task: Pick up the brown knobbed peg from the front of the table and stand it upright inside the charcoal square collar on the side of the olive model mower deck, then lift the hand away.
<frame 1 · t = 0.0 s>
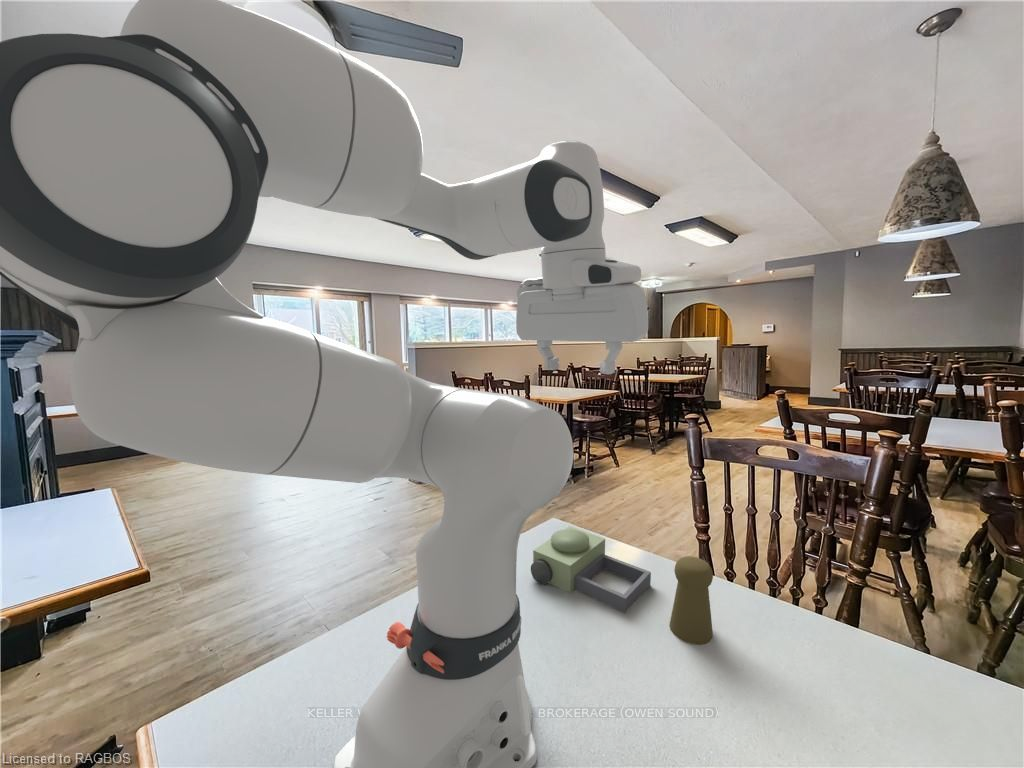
hand: (578, 371, 63), 39 cm above the table, tool pointing down, fingers open, 8 cm apart
brown knobbed peg: (690, 631, 65), on the table
mower deck: (612, 587, 75), on the table
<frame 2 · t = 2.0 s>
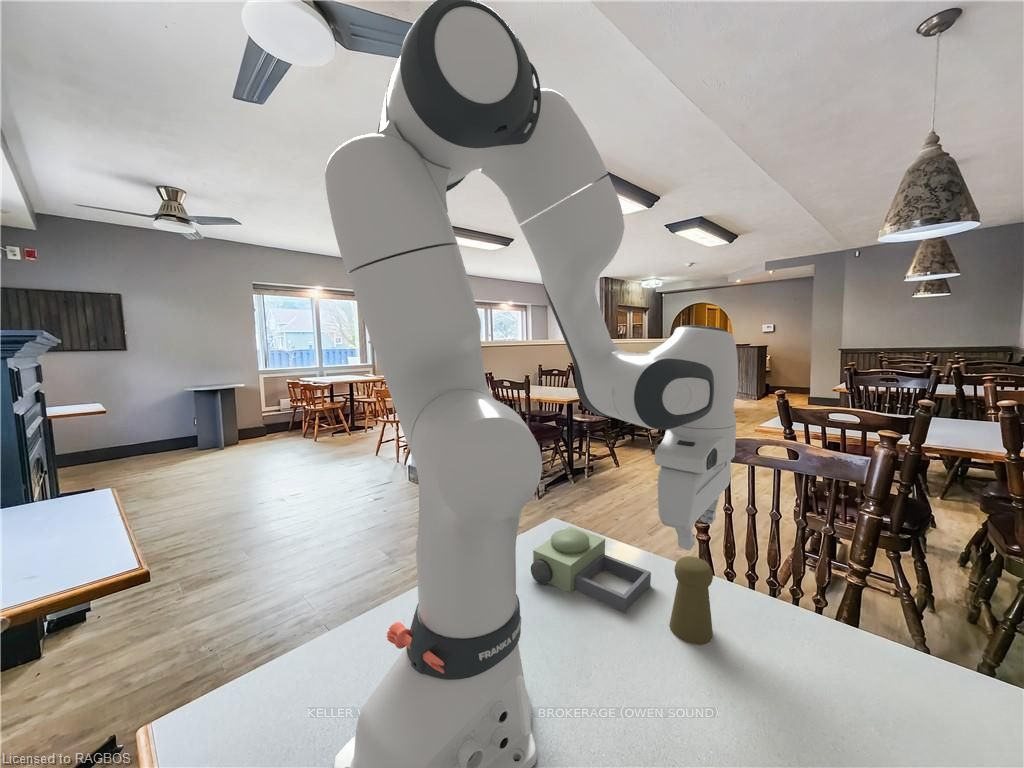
hand: (697, 533, 63), 15 cm above the table, tool pointing down, fingers open, 8 cm apart
nothing on the table moved.
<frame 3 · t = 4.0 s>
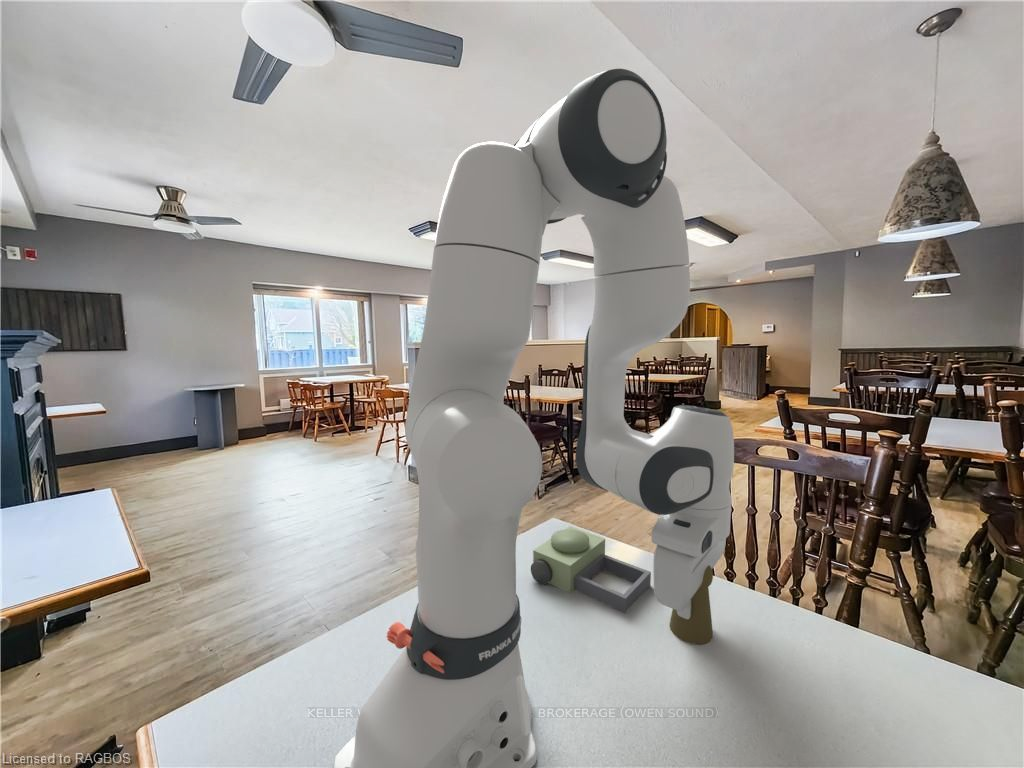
hand: (692, 604, 64), 4 cm above the table, tool pointing down, fingers closed on brown knobbed peg, 5 cm apart
brown knobbed peg: (690, 630, 65), on the table, touching gripper
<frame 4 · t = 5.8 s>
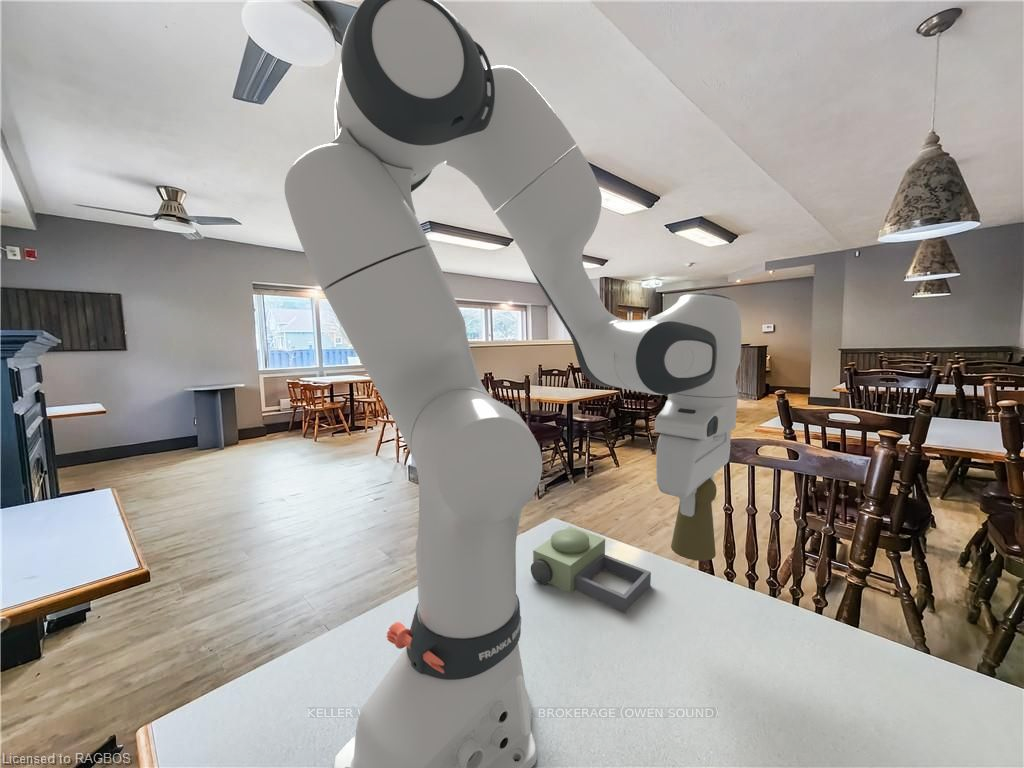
hand: (695, 507, 62), 19 cm above the table, tool pointing down, fingers closed on brown knobbed peg, 4 cm apart
brown knobbed peg: (692, 551, 63), point 13 cm above the table, touching gripper
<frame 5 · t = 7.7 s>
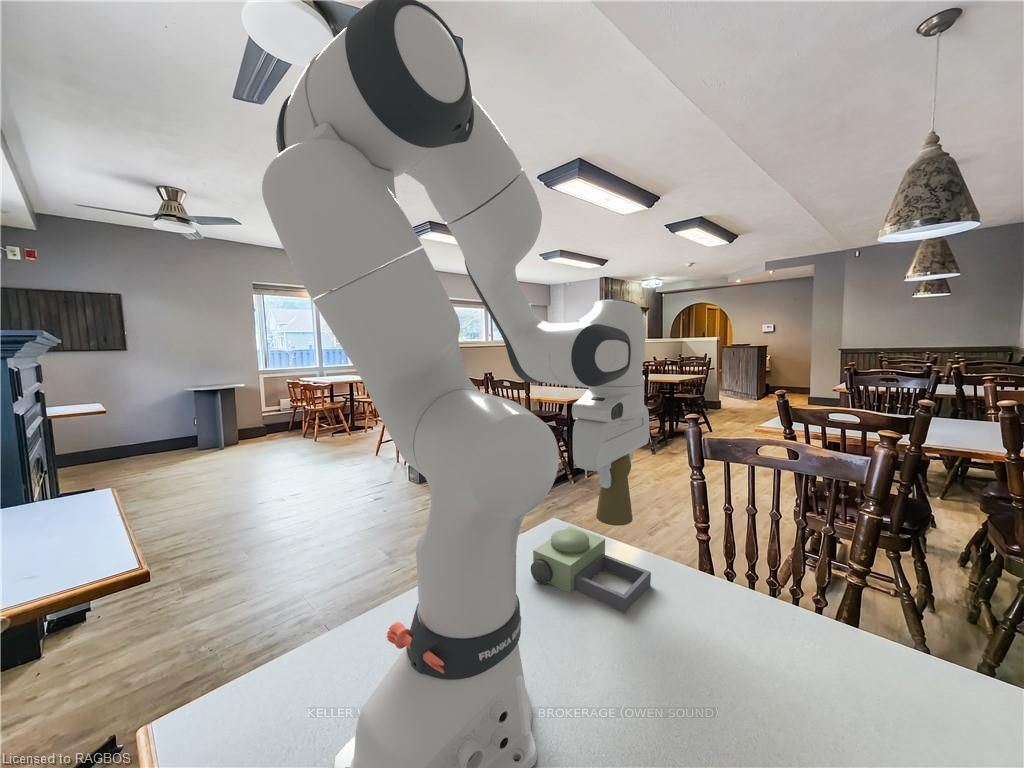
hand: (614, 481, 73), 19 cm above the table, tool pointing down, fingers closed on brown knobbed peg, 4 cm apart
brown knobbed peg: (614, 518, 73), point 13 cm above the table, touching gripper
when the fingers open (7 cm above the table, at t = 9.7 s): brown knobbed peg stays where it is, resting in mower deck.
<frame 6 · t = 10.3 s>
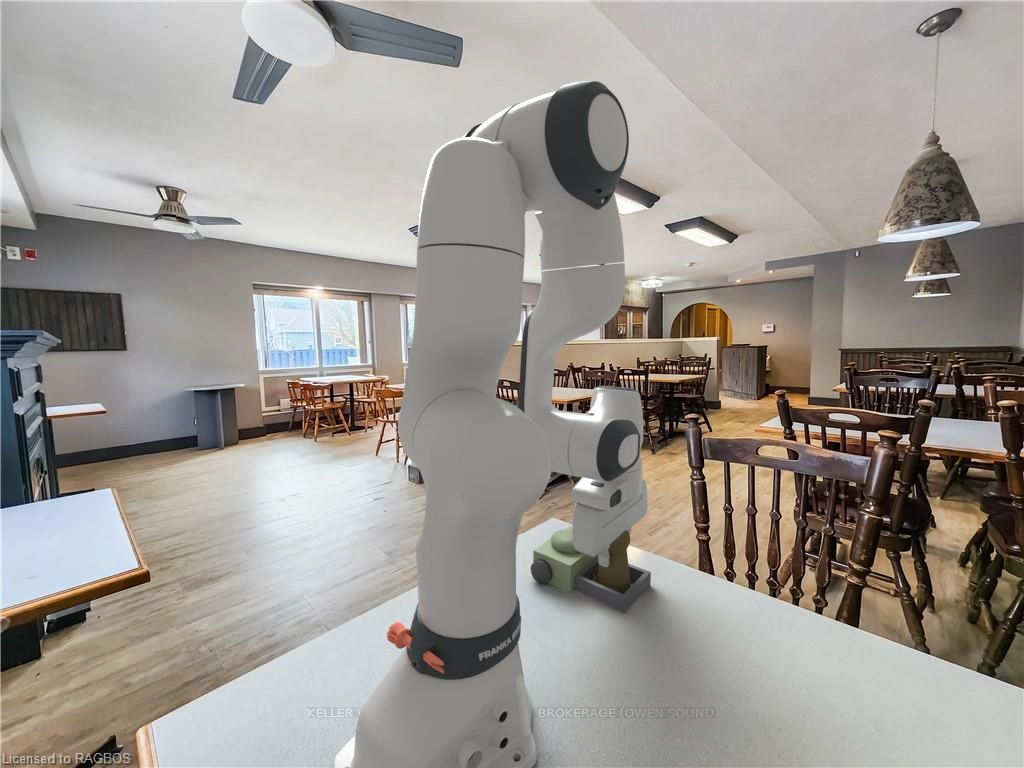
hand: (613, 557, 74), 6 cm above the table, tool pointing down, fingers open, 4 cm apart
brown knobbed peg: (613, 588, 75), resting in mower deck, touching gripper
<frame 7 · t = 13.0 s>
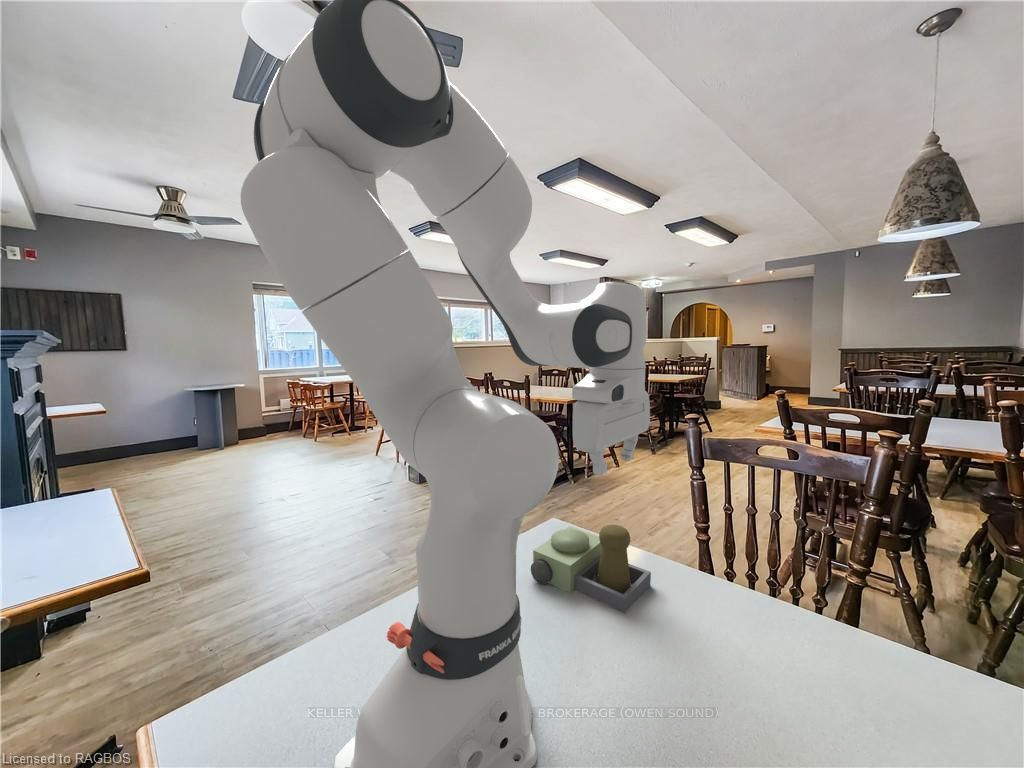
hand: (614, 466, 72), 22 cm above the table, tool pointing down, fingers open, 8 cm apart
brown knobbed peg: (613, 588, 75), resting in mower deck
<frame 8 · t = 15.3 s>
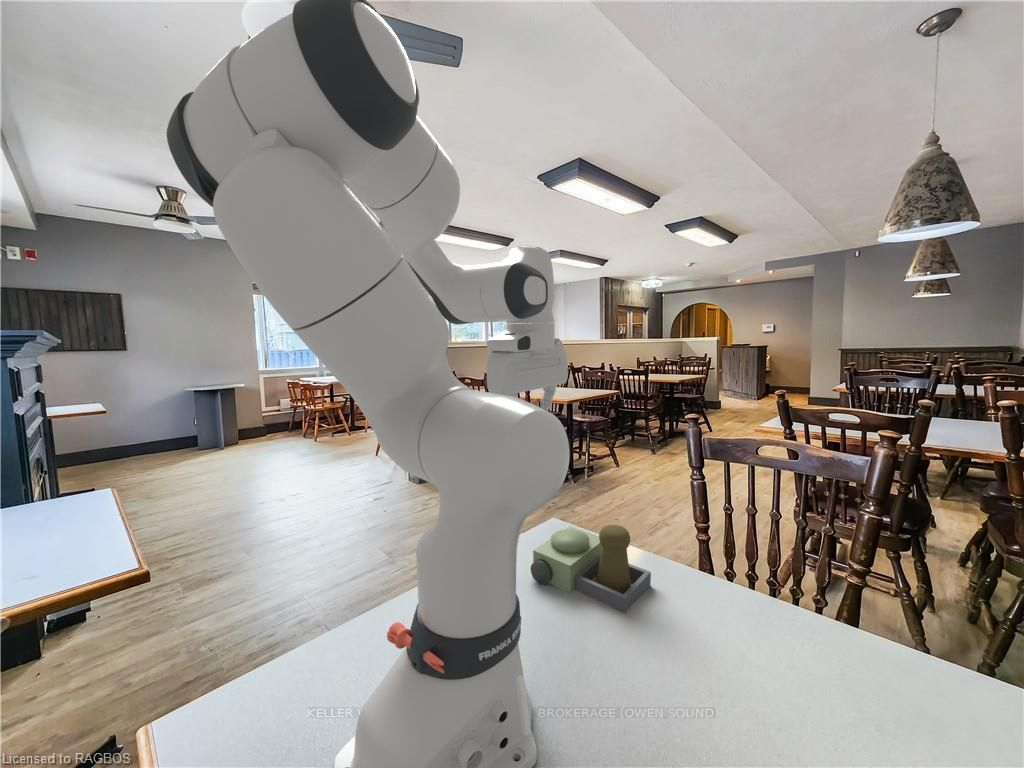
hand: (531, 412, 82), 29 cm above the table, tool pointing down, fingers open, 8 cm apart
nothing on the table moved.
at the end: brown knobbed peg 0.2 cm off-centre on the mower deck, point 0.0 cm above the mower deck's base; brown knobbed peg tilted 0°; the gripper is holding nothing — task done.
